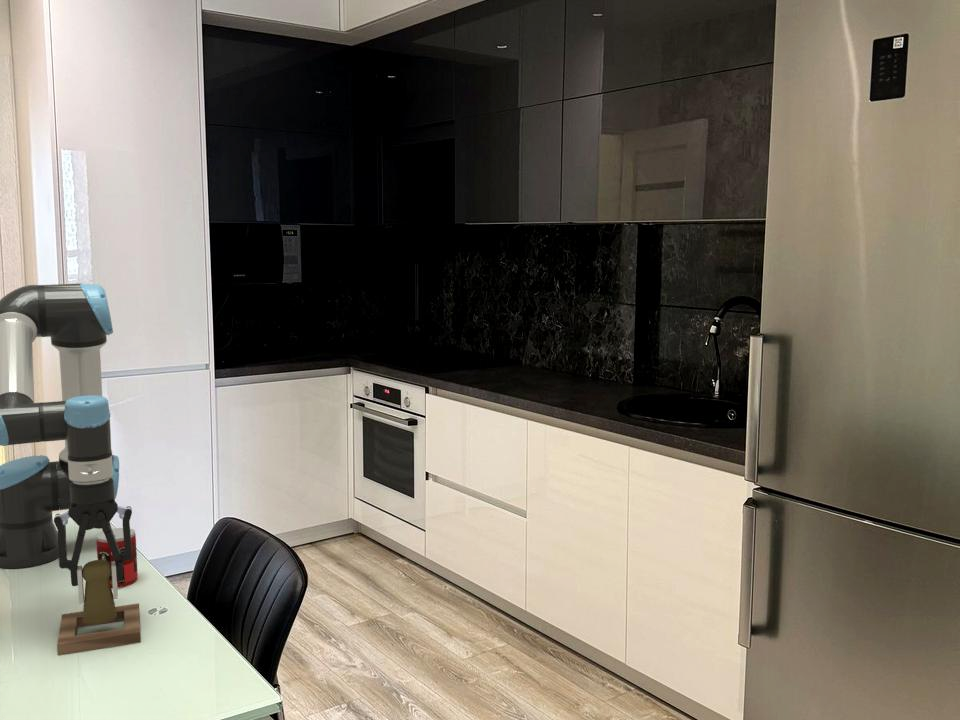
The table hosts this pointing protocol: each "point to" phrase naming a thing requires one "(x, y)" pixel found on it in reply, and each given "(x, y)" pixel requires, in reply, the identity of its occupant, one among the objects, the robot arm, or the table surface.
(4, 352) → the robot arm
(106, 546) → the canned food
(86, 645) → the socket plate
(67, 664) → the table surface
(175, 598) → the table surface
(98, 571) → the cork
